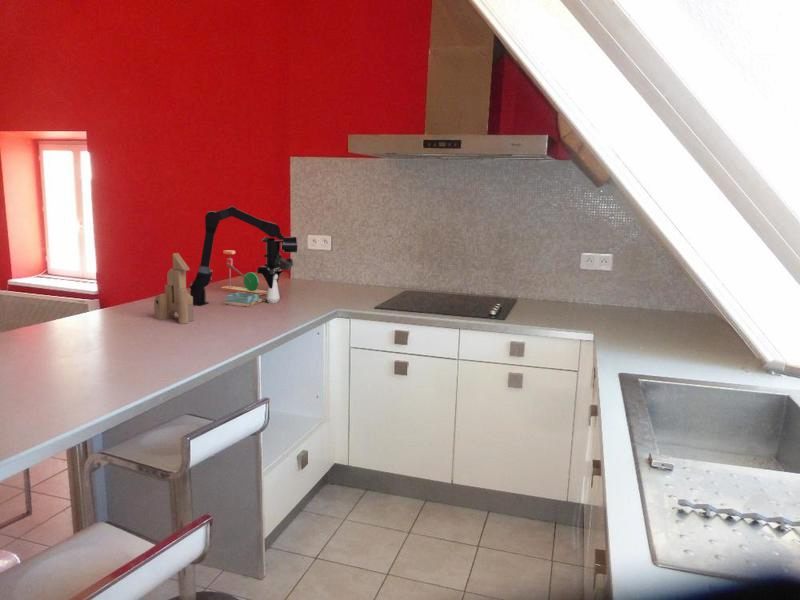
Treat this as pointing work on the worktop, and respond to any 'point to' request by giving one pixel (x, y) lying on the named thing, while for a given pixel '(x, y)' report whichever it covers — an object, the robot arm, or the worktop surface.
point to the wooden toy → (175, 294)
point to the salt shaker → (273, 292)
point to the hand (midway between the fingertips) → (273, 287)
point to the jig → (243, 299)
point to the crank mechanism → (249, 279)
